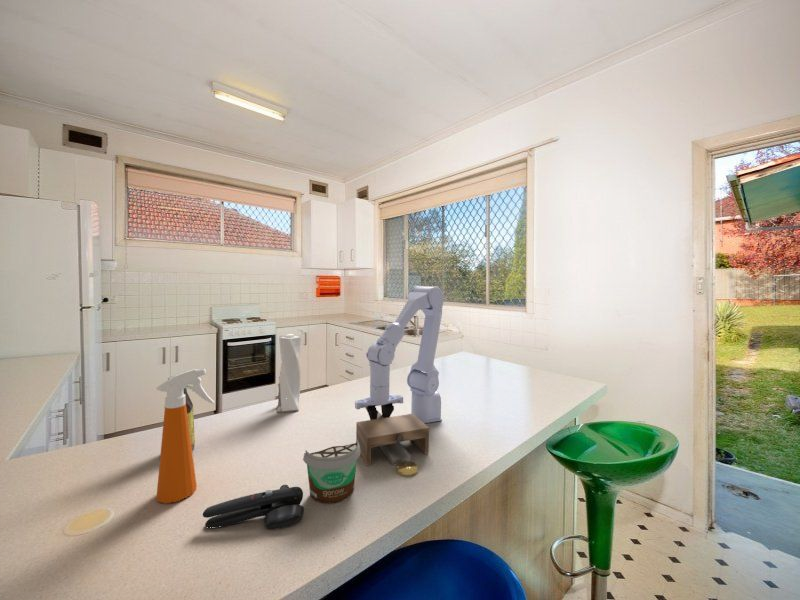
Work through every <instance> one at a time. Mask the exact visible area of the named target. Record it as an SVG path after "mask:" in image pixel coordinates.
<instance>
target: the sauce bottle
mask: <svg viewBox="0 0 800 600" xmlns="http://www.w3.org/2000/svg"><path fill="white" fill-rule="evenodd" d="M174 376H175V375H172V376H170V377H168V378H167V380H168V379H170V378H172V377H174ZM184 394H185V398H186V409H187V416H188V424H189V431H190V439H191V446H192V451H193V450H194V449H195V442H196V441H195V439H196V437H195V422H194V421H195V418H194V404H193V402H192V399H191V398H190V396H189V393H188V388H185V389H184Z"/></svg>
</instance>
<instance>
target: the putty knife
mask: <svg viewBox="0 0 800 600" xmlns="http://www.w3.org/2000/svg"><path fill="white" fill-rule="evenodd" d="M381 418H384V417H383V416H382V413H380V411H378V414H377V419H381ZM401 443H402V442H398V443H392V444H387V445H381V446H378V447H379V448H380V450H381V451H382V452H383V454H384V456H386V458H387V459H388V461H389V462H390V464H391V465H392V466H394V465H398V463H400V462H403V461H411V462H412V455H411V454H410V453H409V452H408V450H407V449H406V448H405V447H404V446H403V445H402V444H401Z"/></svg>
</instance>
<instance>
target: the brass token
mask: <svg viewBox="0 0 800 600" xmlns="http://www.w3.org/2000/svg"><path fill="white" fill-rule="evenodd" d="M418 471H419V470H418V464H417V463H416V462H413V461H412V460H411V461H403V462H400V463H398V464H396V472H397V474H398V475H400V476H403V477H413V476H415V475H416V474H417V473H418Z"/></svg>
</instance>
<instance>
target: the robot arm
mask: <svg viewBox="0 0 800 600" xmlns="http://www.w3.org/2000/svg"><path fill="white" fill-rule="evenodd" d="M444 298H445V294H444V293H443V291H442V289H441V288H440V287H439V286H437V285H435V286H426V285H425V286H420V285H414V286H413V287H412V288H411V290H410V292H409V293H408V295H407V301H406V303H405V304H404V306H403V308H402V309H401V311H400V312H399V314H398V316H397V318H396V319H395V321H394V322H390V323H388V324H387V325H386V326H385V329H384V331H383V332H382V333H381V335H380V336H379V338H378V339H377V340H376V342H375V343H371V345H370V346H369V348H368V349H367V352H366V353H365V355H366V358H367V360H368V363H369V366H370V367H369V371H370V372H369V374H370V375H369V376H370V378H369V396H368V397H366V398H362V399H359V400H357V399H356V400H354V408H355V409H356V410H360V409H362V408H363V409H366V412H367V415H368V417H369V420H374V419H377V414H378V412H379V411H378V410H377V406H378V407H379V406H380V408H381V415H382V416H383V417H384V418H387V417H392V413H393V412H394V410H395V406H394V404H404V396H403V395H401V394H399V395H398V394H397V395H392V394H390V372H391V369H390V368H391V367H390V366H391V365H390V364H391V363H392V362H393V361H394V359H395V353H396V349H397V347H398V345H399V344H400V342H401V340H402V339H403V337H404V336H405V334H406V332H405V328H406V327H407V325H408V324H409V323H410V322H411V320H412V319H413V318H414V316H415V315H416V314H417V312H418V311H420V310H421V312H422V313H423V314H424V321H423V327H422V332H421V333H422V334H421V338H420V339H421V340H420V344H419V349H418V357H417V361H416V362H415V363H413V364H412V365H411V366H410V371H409V373H408V374H407V378H406V382H407V383H406V384H407V385H408V387H409V388H410V391H411V409H410V411H411V413H410V414H414V415H415V416H416V417H418V418H419V419H420V420H421V421H422V422H423V423H424V424H428V423H434V422H439V421H440V422H441V421H443V418H442V397H441V394H440V393H439V392H438V389H439V387H440V386H439V385H440V382H439V381H440V379H439V374H440V372H439V370H438V369H437V367H436V366H435V365H434V362H435V358H436V351H437V346H438V341H439V335H440V334H439V333H440V328H441V323H442V315H443V307H444V305H443V304H444V300H445V299H444Z"/></svg>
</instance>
